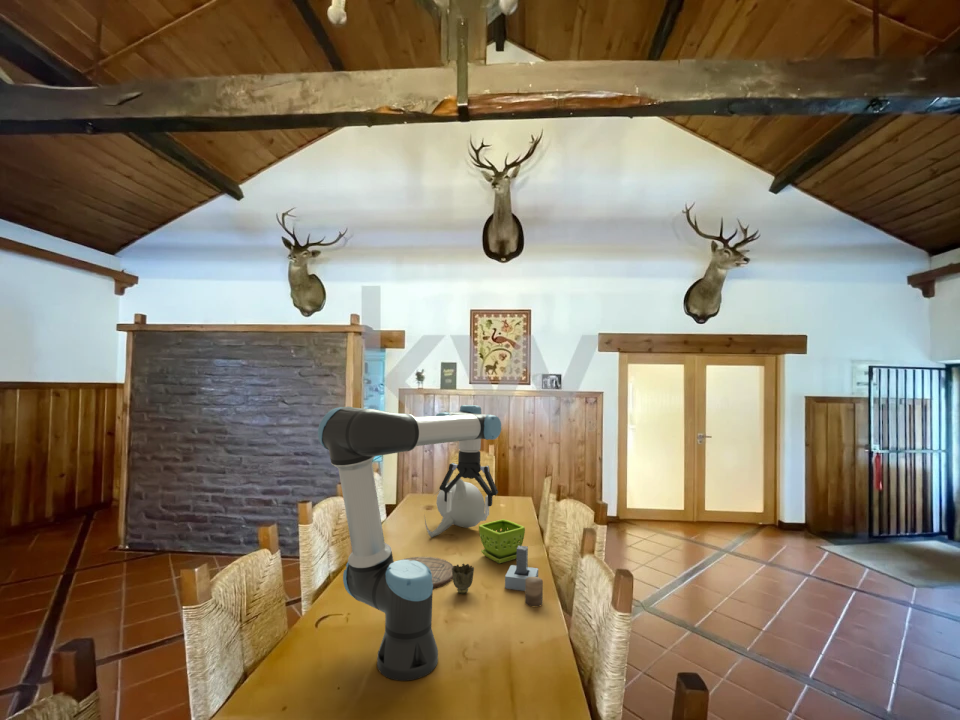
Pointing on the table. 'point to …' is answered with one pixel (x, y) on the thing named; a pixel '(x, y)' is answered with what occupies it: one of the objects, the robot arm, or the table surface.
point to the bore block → (518, 578)
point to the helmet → (460, 507)
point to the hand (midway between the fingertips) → (467, 513)
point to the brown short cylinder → (534, 591)
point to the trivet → (436, 569)
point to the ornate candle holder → (462, 577)
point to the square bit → (522, 561)
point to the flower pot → (501, 540)
